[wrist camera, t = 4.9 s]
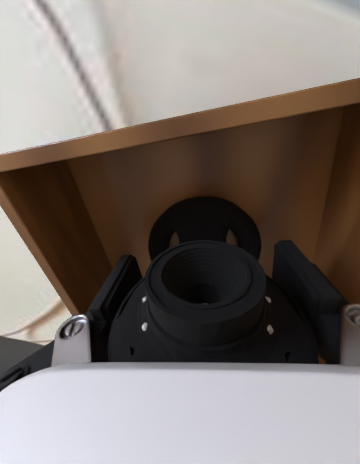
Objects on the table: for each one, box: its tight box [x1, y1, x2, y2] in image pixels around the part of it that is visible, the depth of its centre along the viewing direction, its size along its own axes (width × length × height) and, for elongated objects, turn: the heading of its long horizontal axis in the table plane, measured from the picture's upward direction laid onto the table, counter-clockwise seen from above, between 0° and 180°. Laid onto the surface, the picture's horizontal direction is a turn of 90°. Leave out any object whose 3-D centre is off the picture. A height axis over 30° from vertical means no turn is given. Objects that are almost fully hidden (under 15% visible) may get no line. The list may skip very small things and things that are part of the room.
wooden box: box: [0, 78, 360, 364], centre depth 11 cm, size 16×15×5 cm
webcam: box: [107, 197, 319, 364], centre depth 9 cm, size 8×8×10 cm
